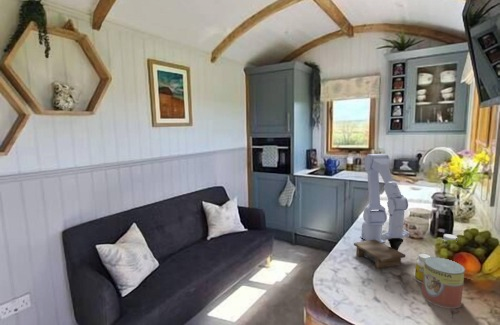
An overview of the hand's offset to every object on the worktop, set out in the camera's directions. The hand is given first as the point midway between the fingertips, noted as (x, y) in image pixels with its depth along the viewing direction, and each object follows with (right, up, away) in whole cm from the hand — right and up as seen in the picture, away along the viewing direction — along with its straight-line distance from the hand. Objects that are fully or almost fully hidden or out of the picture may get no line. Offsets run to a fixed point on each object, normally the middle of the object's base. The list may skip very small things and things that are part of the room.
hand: (394, 253), depth 127 cm
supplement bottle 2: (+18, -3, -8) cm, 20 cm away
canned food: (+1, -6, -30) cm, 31 cm away
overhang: (-9, -2, -3) cm, 9 cm away
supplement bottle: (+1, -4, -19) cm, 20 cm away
